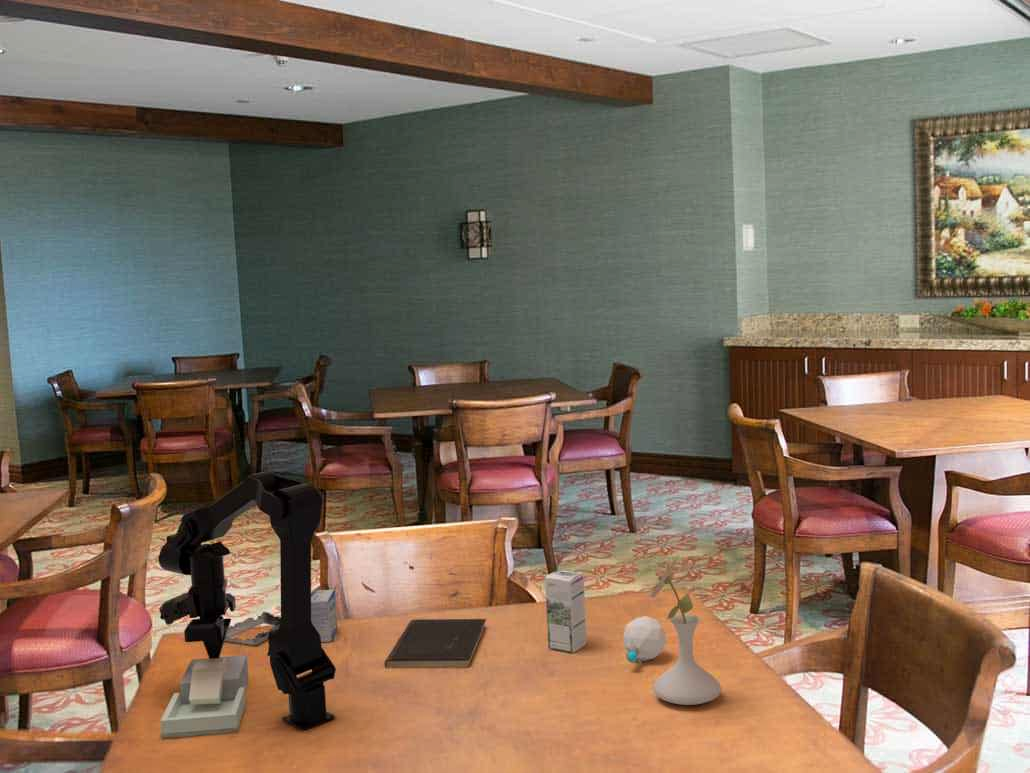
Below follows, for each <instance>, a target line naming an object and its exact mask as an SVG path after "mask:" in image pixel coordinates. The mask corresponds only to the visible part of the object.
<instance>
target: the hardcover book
mask: <svg viewBox="0 0 1030 773" xmlns="http://www.w3.org/2000/svg"><path fill="white" fill-rule="evenodd" d="M486 621H487V619H486V618H458V619H457V618H453V619H452V618H451V619H450V618H448V619H446V618H443V619H442V618H440V619H439V618H438V619H435V618H432V619H426V618H425V619H424V618H423V619H411V620H410V621H409V622H408V624H407V626H406V627H405V629H404V631H403V632H402V633H401V635H400V637H399V639H398V640H397V641H396V643H395V645H394V646H393V648H392V649H391V651H390V653H389V655H388V656H387V658H386V659H385V661H384V668H385V669H387V668H388V669H389V667H392V668H395V669H396V668H397V667H401V669H402V668H403V669H404V667H408V668H410V667H411V669H412V668H415V667H418V668H420V669H421V668H468V667H469V665H470V662H471V660H472V658H473V655H474V653H475V651H476V648H477V646H478V643H479V641H480V639H481V637H482V634H483V632H484V630H485V624H486Z"/></svg>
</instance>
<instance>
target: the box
mask: <svg viewBox="0 0 1030 773" xmlns="http://www.w3.org/2000/svg"><path fill="white" fill-rule="evenodd" d="M246 705H247V701H246V688H245V687H241V688H239V689H238V692H237V695H236V698H235V700H232V701H221V703H218V704H194V705H191V704H185V705H181V695H180V692H173V694H172V696H171V699H170V700H169V702H168V704H167V707H166V709H165V710H164V713H163V714H162V717H161V719H160V722H159V723H160V733H161V734H160V735H161V739H171V738H186V737H196V736H197V737H198V736H207V735H216V734H217V735H218V734H219V735H221V734H231V733H238V730H239V727H240V724H241V721H242V718H243V714H244V711H245V709H246Z"/></svg>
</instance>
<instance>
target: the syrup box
mask: <svg viewBox="0 0 1030 773" xmlns="http://www.w3.org/2000/svg"><path fill="white" fill-rule="evenodd" d="M544 587H545V588H544V589H545V603H546V604H545V605H546V606H545V607H546V608H545V610H546V628H547V648H548V649H549V650H553V651H554V650H555V651H561V652H567V653H571V654H574V653H576V652H577V651H579V650H580V649H582V648H583V647H585V646H586V645H587V641H588V640H587V627H586V623H587V622H586V603H585V599H586V598H585V595H586V594H585V576H584V573H583V572H578V571H577V572H576V571H571V570H570V571H569V570H563V569H557V570H555V571H552V572H551V573H549V574H547V575H546V576H545V577H544Z"/></svg>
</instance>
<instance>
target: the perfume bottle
mask: <svg viewBox="0 0 1030 773" xmlns="http://www.w3.org/2000/svg"><path fill="white" fill-rule="evenodd" d="M622 640H623V647H624V649H625V650H626V652H627V653H626V655H625V656H626V660H627V661H628V662H630V663H635V662H637V663H640V664H642V662H645V661H649V660H653V659H655V658H656V657H658V656H659V655H661V654H662V653H663V652H664V650H665V646H666V641H667V638H666V629H665V628H664V626H662V624H661V623H660V622H659V620H658V619H655V618H653V617H650V616H646V615H645V616H639V617H636V618H634V619H633V620H631V621H630V622H628V623H627V624H626V625H625V628H624V632H623V636H622Z"/></svg>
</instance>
